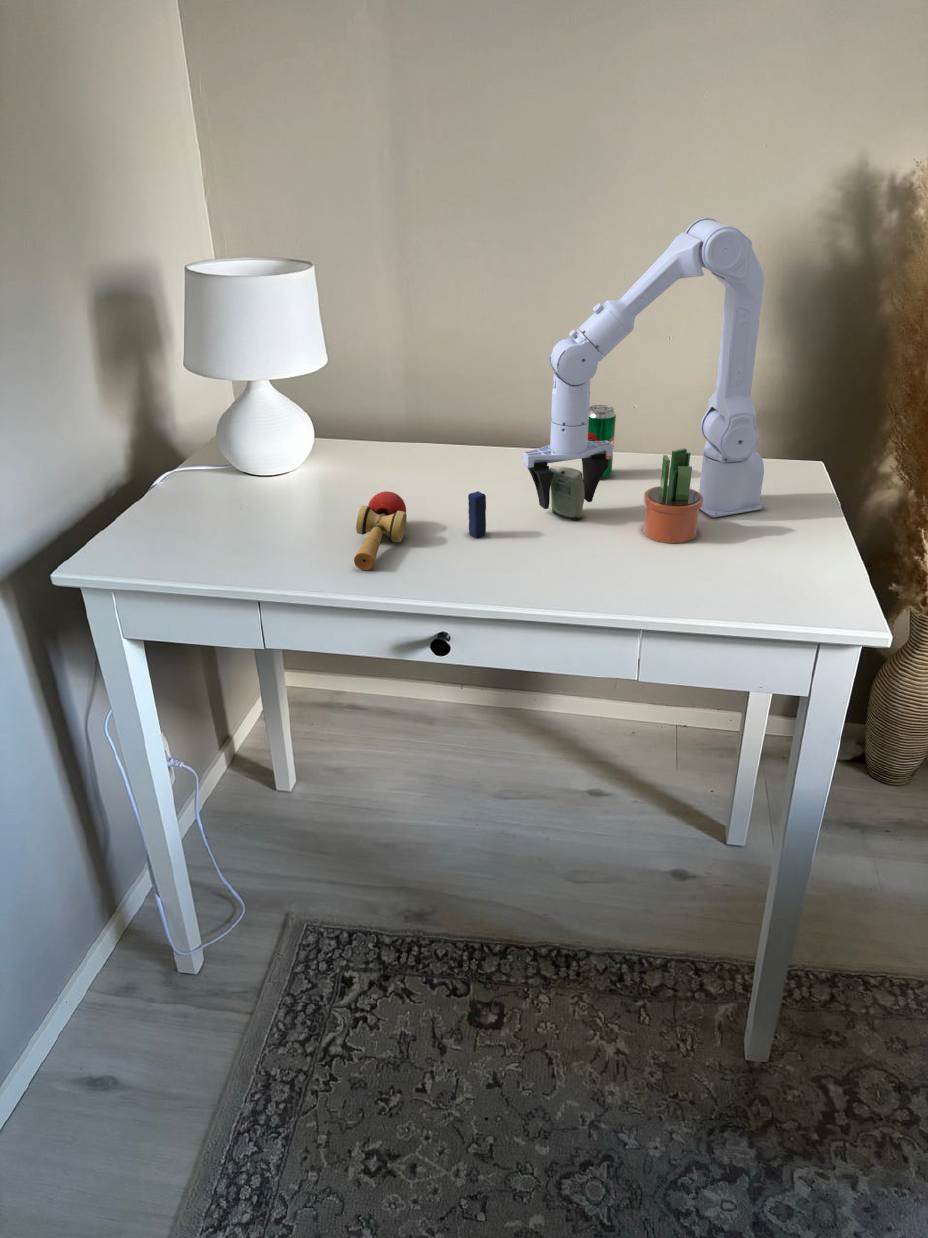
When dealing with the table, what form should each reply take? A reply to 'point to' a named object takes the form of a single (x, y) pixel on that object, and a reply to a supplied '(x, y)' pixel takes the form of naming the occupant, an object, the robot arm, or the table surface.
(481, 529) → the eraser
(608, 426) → the soda can
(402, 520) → the kendama
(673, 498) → the plant
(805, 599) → the table surface
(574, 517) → the pale green rounded block
